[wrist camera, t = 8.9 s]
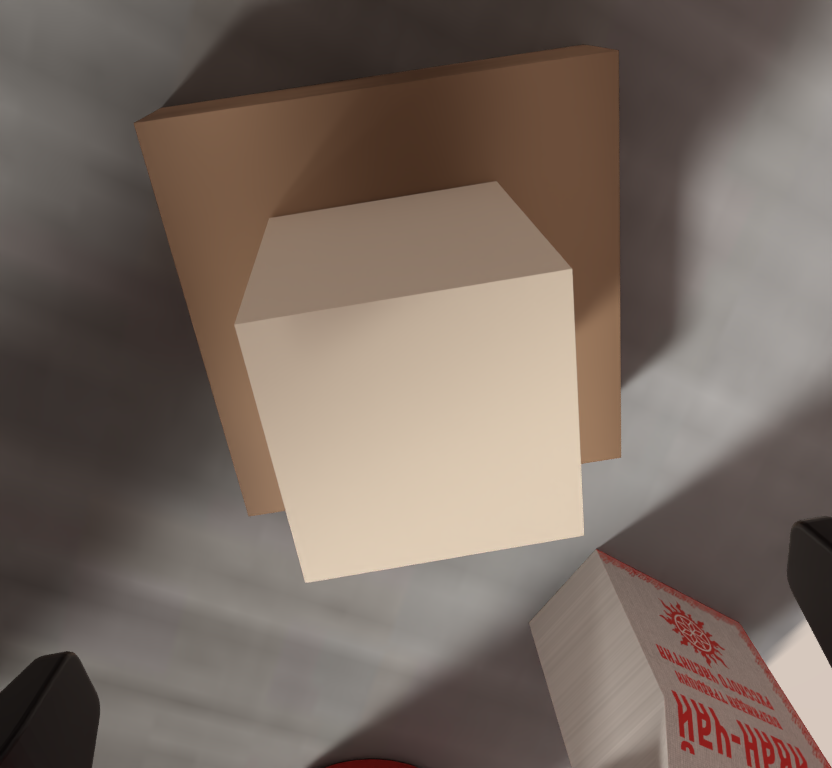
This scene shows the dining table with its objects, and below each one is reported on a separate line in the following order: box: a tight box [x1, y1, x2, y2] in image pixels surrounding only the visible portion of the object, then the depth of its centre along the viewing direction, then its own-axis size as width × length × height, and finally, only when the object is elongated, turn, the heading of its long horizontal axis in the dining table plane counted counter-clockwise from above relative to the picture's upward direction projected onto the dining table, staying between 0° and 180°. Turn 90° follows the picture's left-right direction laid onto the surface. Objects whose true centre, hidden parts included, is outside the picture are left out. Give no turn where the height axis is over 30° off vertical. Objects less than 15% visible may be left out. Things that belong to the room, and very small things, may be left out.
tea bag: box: [529, 549, 831, 768], centre depth 22 cm, size 4×7×10 cm, turn 56°
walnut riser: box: [134, 45, 621, 516], centre depth 19 cm, size 10×10×3 cm
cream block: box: [234, 181, 584, 583], centre depth 15 cm, size 5×5×6 cm
